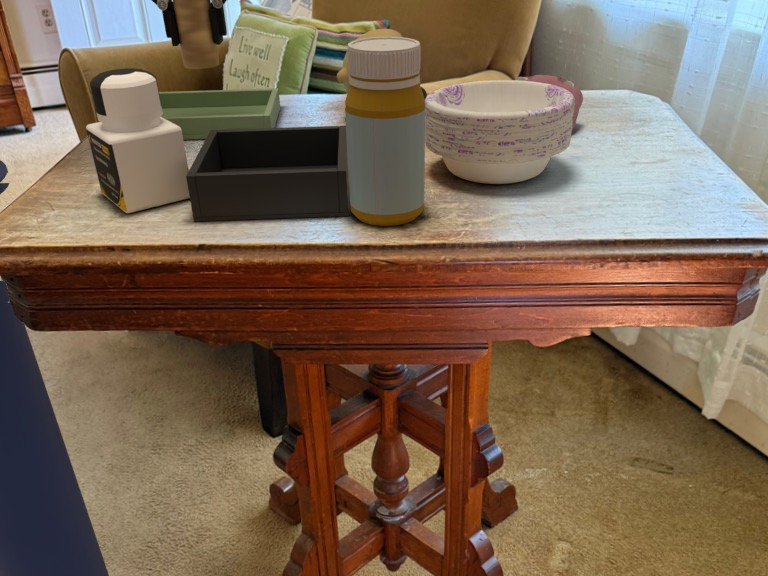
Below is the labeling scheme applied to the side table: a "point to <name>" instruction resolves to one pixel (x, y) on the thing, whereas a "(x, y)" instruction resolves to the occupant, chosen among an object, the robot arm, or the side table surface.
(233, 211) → the bin
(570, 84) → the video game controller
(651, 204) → the side table surface
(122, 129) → the medicine bottle
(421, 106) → the bottle
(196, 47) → the brown wooden cylinder
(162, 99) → the tray
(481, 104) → the paper bowls
